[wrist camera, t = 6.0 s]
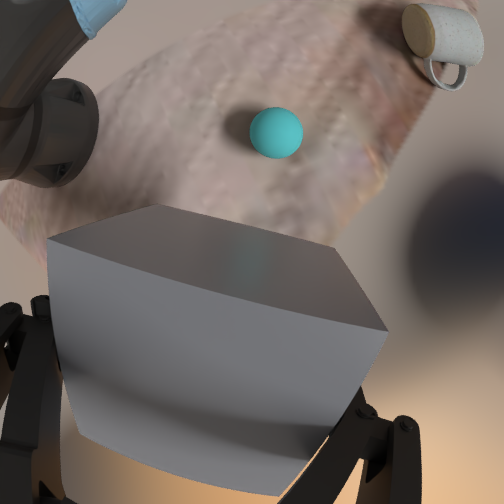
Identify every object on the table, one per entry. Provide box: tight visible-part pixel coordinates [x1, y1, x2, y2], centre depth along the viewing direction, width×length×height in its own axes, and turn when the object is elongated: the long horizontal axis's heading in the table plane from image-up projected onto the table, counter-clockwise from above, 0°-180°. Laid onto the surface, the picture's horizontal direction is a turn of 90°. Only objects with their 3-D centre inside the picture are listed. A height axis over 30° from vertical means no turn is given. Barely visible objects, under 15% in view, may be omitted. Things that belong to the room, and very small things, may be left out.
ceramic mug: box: [402, 3, 484, 91], centre depth 18 cm, size 11×8×8 cm
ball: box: [250, 107, 303, 159], centre depth 25 cm, size 5×5×5 cm
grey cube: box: [47, 204, 389, 497], centre depth 12 cm, size 10×10×9 cm
